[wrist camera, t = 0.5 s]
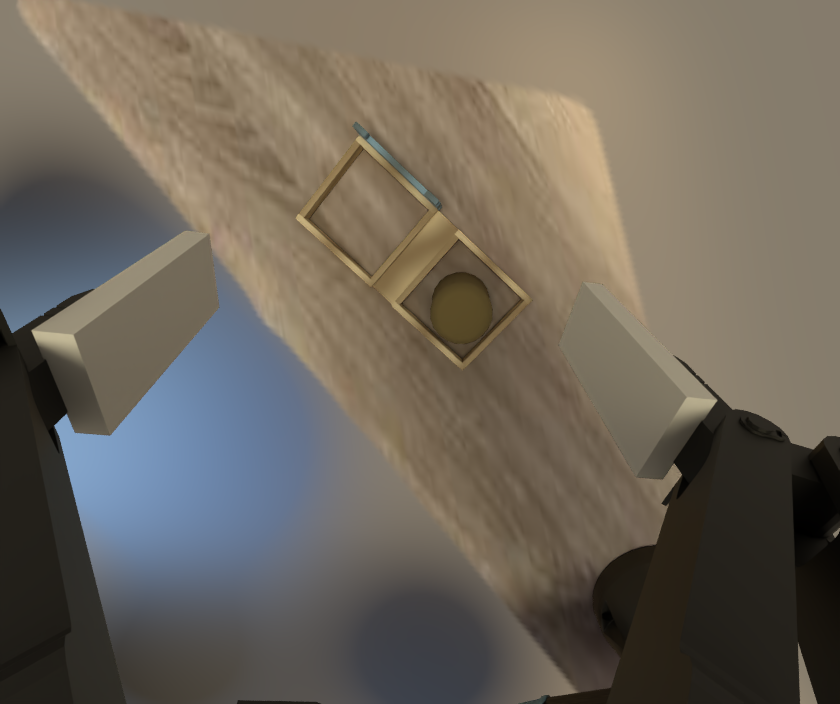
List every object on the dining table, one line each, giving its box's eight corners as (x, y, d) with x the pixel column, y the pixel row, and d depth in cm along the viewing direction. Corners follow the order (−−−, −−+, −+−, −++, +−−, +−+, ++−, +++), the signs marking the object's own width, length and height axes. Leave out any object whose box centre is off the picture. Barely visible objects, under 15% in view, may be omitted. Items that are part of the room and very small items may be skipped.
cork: (448, 261, 43) (445, 264, 32) (499, 288, 43) (513, 299, 32) (422, 313, 44) (411, 332, 33) (472, 338, 44) (476, 365, 34)
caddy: (533, 294, 42) (542, 299, 38) (462, 366, 45) (462, 378, 41) (366, 134, 40) (355, 120, 36) (301, 219, 43) (283, 215, 39)
